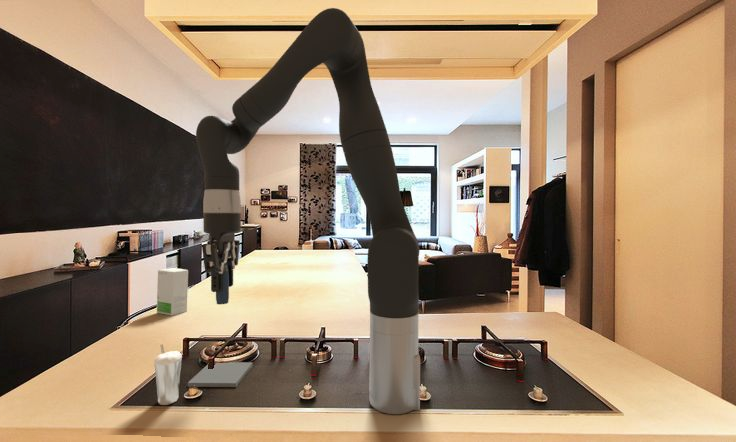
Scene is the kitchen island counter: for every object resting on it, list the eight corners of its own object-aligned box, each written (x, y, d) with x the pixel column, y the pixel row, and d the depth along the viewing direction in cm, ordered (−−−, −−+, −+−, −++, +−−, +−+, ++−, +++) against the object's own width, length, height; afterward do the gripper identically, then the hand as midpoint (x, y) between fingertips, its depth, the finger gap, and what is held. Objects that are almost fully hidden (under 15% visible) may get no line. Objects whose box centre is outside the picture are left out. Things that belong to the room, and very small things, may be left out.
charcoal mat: (252, 365, 81) (252, 362, 81) (236, 387, 71) (236, 383, 71) (210, 365, 81) (210, 362, 81) (187, 386, 71) (187, 382, 71)
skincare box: (156, 313, 124) (156, 269, 123) (172, 308, 130) (172, 267, 130) (172, 316, 120) (172, 271, 120) (188, 311, 126) (188, 268, 126)
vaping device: (229, 298, 78) (228, 245, 78) (228, 304, 74) (228, 248, 73) (216, 299, 78) (216, 246, 77) (215, 305, 73) (214, 248, 72)
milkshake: (174, 390, 69) (174, 341, 69) (186, 399, 66) (185, 347, 66) (148, 400, 66) (148, 347, 66) (159, 410, 62) (159, 355, 62)
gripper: (225, 210, 68) (226, 296, 68) (250, 211, 83) (251, 282, 83) (188, 210, 68) (188, 296, 68) (219, 211, 83) (219, 282, 83)
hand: (222, 288), depth 76 cm, fingers closed on vaping device, 5 cm apart
